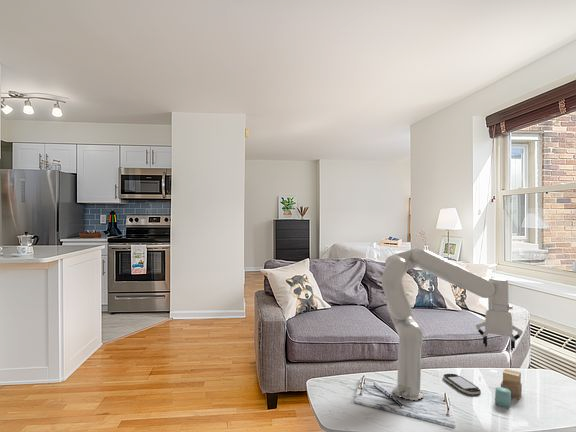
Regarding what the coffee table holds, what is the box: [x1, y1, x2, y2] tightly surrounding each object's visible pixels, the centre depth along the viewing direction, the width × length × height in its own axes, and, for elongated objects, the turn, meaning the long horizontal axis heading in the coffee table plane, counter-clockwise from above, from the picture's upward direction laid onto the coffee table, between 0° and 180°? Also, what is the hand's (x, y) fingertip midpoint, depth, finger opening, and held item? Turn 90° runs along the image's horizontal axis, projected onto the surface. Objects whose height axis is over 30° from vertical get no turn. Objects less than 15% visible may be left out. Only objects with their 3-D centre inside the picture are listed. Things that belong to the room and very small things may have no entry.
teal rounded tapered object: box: [494, 386, 512, 409], centre depth 156 cm, size 6×6×6 cm
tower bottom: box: [500, 380, 523, 401], centre depth 165 cm, size 7×7×5 cm
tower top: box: [502, 368, 522, 388], centre depth 165 cm, size 6×6×5 cm
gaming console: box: [442, 373, 482, 396], centre depth 173 cm, size 19×9×3 cm, turn 11°
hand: (498, 347), depth 159 cm, fingers open, 9 cm apart
